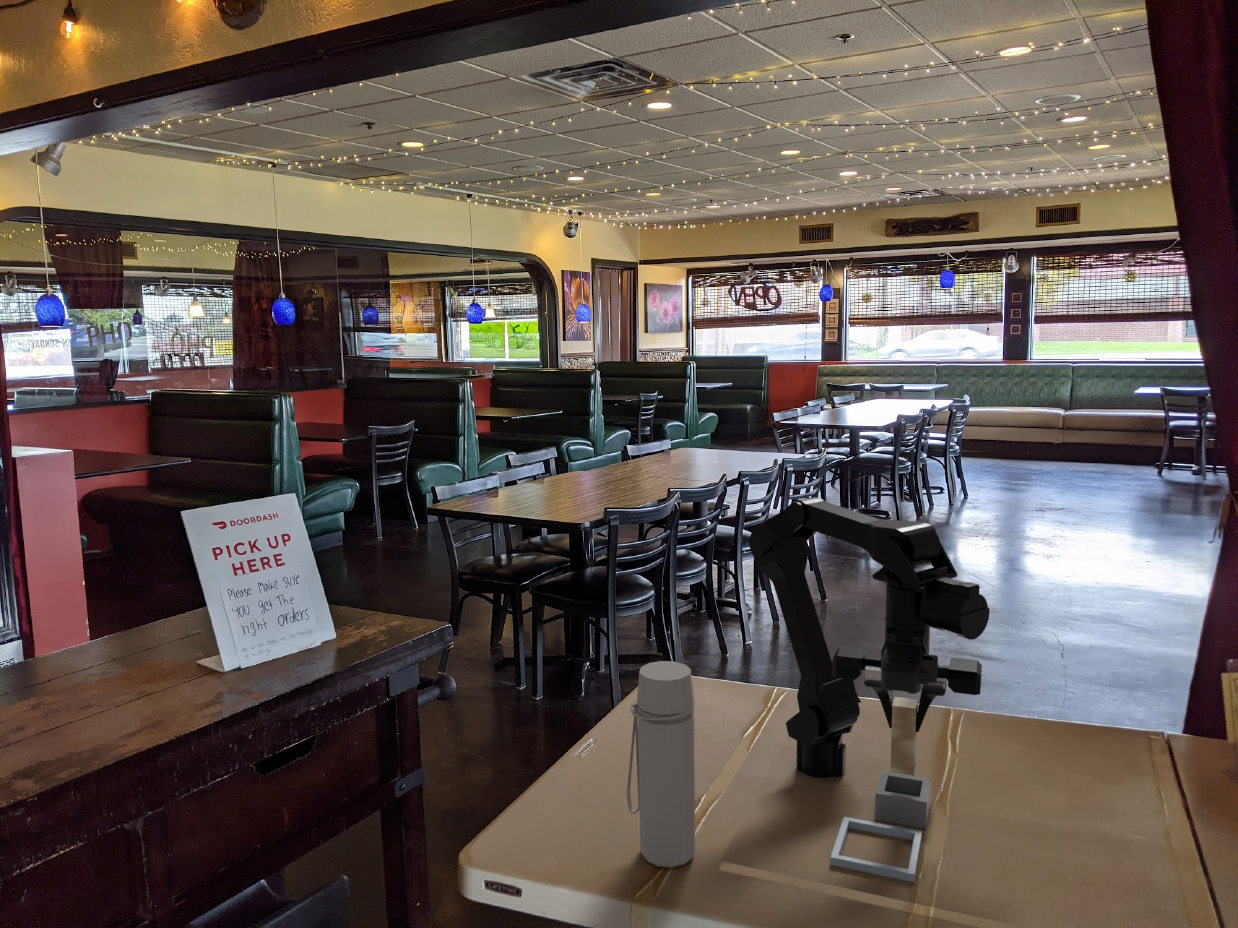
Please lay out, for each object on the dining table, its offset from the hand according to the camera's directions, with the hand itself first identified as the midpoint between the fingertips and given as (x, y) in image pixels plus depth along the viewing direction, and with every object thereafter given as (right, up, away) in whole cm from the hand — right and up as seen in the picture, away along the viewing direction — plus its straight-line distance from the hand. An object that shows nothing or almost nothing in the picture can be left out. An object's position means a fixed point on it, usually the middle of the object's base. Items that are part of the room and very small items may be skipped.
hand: (904, 728), depth 124 cm
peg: (0, -6, +1) cm, 6 cm away
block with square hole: (+1, -13, +3) cm, 13 cm away
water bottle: (-33, -15, -5) cm, 37 cm away
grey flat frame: (-6, -14, -7) cm, 17 cm away
